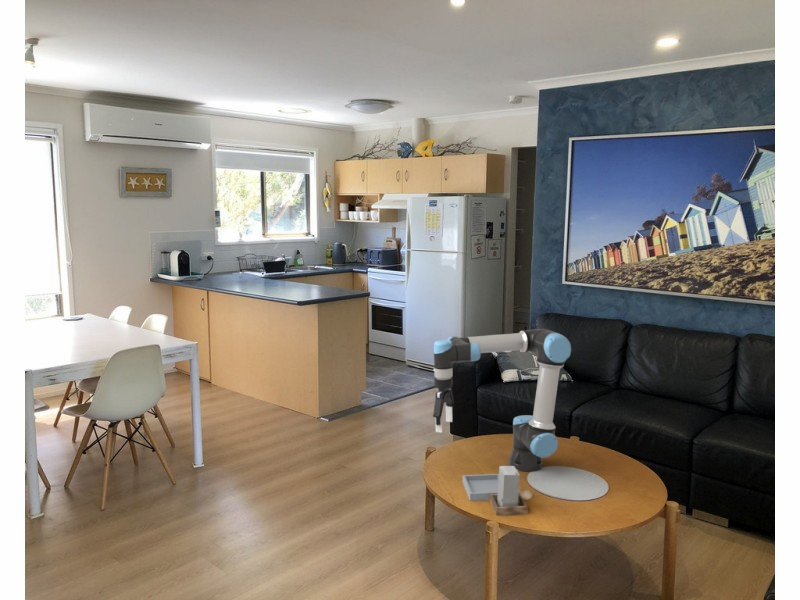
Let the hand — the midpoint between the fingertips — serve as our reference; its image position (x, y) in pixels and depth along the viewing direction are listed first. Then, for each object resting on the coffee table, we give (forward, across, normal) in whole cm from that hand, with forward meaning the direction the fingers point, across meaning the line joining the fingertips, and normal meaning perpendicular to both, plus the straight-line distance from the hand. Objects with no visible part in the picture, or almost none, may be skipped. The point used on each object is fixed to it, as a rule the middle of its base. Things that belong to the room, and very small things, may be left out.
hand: (444, 426), depth 255 cm
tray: (+27, -4, +16) cm, 32 cm away
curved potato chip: (+28, -5, +31) cm, 42 cm away
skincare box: (+28, +8, +29) cm, 41 cm away
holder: (+27, +8, +29) cm, 40 cm away
